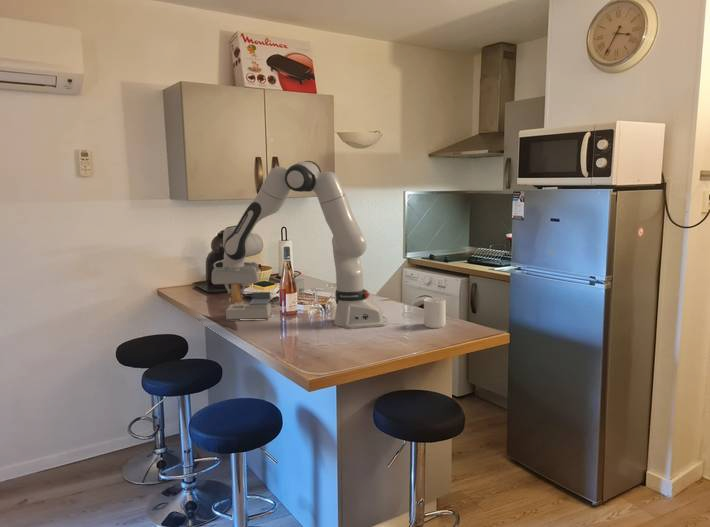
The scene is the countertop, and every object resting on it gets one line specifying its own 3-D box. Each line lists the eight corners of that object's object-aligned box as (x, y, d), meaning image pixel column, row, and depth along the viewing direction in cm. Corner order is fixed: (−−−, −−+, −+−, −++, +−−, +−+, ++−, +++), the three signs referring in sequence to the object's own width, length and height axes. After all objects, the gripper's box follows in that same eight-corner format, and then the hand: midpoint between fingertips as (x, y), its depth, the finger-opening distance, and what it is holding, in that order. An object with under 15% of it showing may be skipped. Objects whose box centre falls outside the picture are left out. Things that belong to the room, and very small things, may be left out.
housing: (271, 314, 246) (270, 300, 245) (267, 320, 235) (267, 305, 234) (231, 315, 246) (230, 301, 245) (226, 321, 235) (225, 306, 234)
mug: (453, 323, 222) (453, 297, 220) (438, 329, 212) (438, 303, 211) (435, 320, 227) (435, 295, 225) (419, 326, 218) (419, 300, 216)
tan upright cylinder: (241, 300, 241) (240, 282, 240) (240, 302, 237) (239, 284, 236) (232, 300, 241) (231, 282, 240) (230, 302, 237) (230, 284, 236)
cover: (270, 300, 251) (269, 291, 250) (267, 304, 241) (266, 296, 241) (253, 300, 251) (252, 292, 250) (249, 305, 241) (248, 296, 241)
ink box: (281, 304, 265) (280, 281, 263) (290, 301, 273) (288, 278, 271) (297, 305, 262) (296, 281, 260) (305, 302, 270) (304, 278, 268)
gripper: (259, 261, 240) (260, 291, 242) (213, 262, 239) (214, 292, 241) (257, 263, 234) (258, 294, 236) (209, 264, 233) (211, 295, 235)
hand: (236, 293), depth 239 cm, fingers closed on tan upright cylinder, 4 cm apart
